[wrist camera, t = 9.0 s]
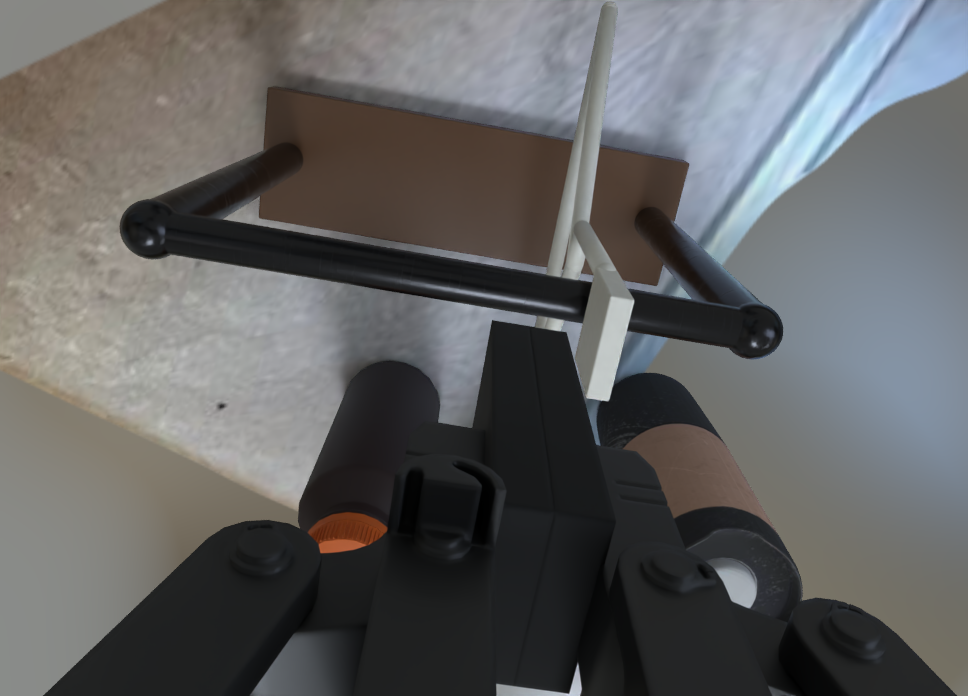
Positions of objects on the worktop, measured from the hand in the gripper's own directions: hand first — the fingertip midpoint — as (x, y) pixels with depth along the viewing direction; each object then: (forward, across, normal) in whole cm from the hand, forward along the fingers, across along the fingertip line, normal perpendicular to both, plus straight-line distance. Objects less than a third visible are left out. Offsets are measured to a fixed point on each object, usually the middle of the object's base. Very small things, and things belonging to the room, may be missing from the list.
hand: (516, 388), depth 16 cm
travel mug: (+36, +14, -16) cm, 42 cm away
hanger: (+27, +4, -2) cm, 27 cm away
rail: (+36, -1, -2) cm, 36 cm away
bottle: (+36, -4, -18) cm, 41 cm away
